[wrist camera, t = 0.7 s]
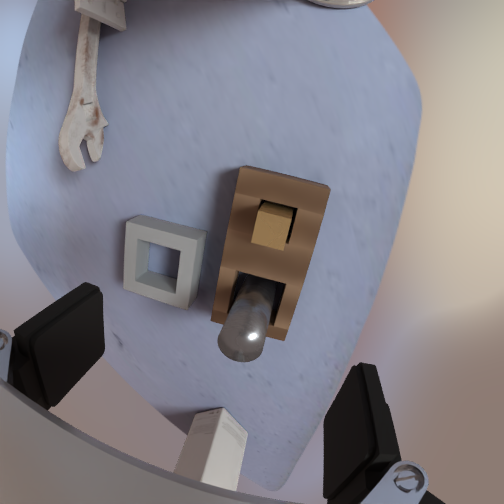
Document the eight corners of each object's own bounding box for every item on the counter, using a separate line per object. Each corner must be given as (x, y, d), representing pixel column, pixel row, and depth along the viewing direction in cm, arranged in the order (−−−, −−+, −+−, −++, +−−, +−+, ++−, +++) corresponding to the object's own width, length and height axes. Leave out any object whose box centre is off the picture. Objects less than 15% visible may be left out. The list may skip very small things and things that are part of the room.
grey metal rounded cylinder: (247, 266, 36) (221, 319, 25) (280, 275, 36) (267, 332, 25) (240, 295, 37) (214, 354, 26) (272, 303, 37) (257, 366, 26)
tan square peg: (265, 201, 31) (258, 210, 26) (293, 208, 31) (291, 219, 26) (259, 228, 32) (250, 242, 28) (286, 235, 32) (283, 250, 27)
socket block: (246, 165, 32) (240, 167, 29) (327, 185, 31) (330, 189, 28) (218, 306, 39) (210, 320, 35) (286, 325, 38) (284, 341, 35)
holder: (140, 214, 36) (126, 221, 33) (207, 231, 35) (197, 240, 32) (136, 277, 39) (123, 288, 36) (196, 297, 39) (187, 310, 35)
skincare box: (195, 412, 47) (165, 482, 32) (226, 405, 45) (199, 482, 30) (221, 438, 49) (199, 505, 34) (251, 433, 47) (233, 506, 32)
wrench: (117, -11, 28) (112, 169, 34) (107, -7, 29) (101, 171, 35) (88, -33, 21) (69, 168, 27) (78, -27, 21) (58, 172, 27)
